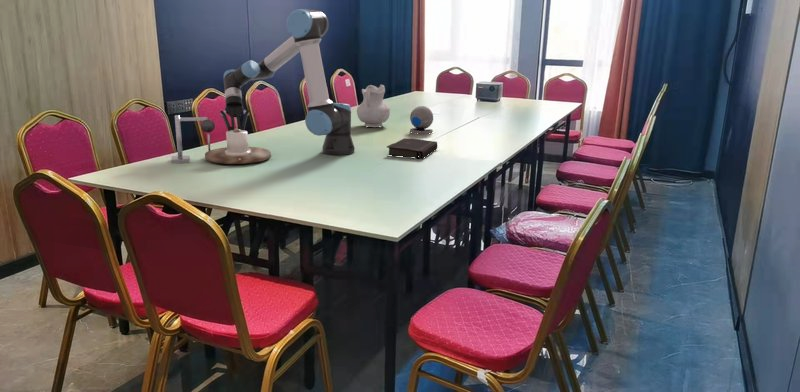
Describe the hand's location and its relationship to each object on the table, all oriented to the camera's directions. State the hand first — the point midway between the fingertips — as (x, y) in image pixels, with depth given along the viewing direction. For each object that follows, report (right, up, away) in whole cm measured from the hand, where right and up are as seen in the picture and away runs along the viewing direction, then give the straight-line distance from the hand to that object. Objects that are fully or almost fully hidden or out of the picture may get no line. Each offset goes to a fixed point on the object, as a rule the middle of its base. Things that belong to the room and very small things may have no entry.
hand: (237, 142), depth 265 cm
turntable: (+1, -7, -2) cm, 8 cm away
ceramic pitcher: (+56, +17, +86) cm, 105 cm away
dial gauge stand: (-16, -9, -7) cm, 20 cm away
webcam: (+84, +12, +72) cm, 111 cm away
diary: (+78, -4, +20) cm, 81 cm away
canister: (+2, -6, -4) cm, 7 cm away
